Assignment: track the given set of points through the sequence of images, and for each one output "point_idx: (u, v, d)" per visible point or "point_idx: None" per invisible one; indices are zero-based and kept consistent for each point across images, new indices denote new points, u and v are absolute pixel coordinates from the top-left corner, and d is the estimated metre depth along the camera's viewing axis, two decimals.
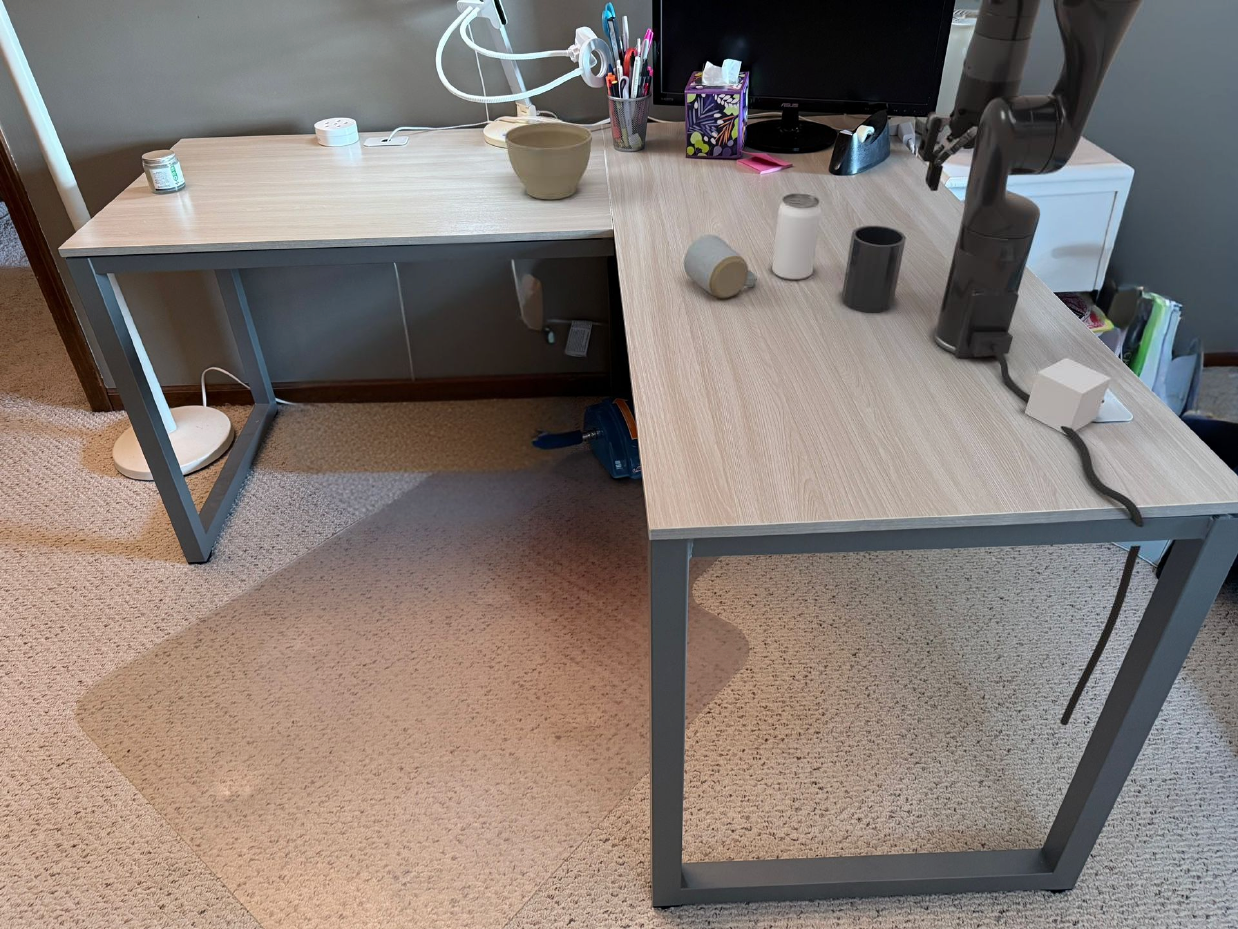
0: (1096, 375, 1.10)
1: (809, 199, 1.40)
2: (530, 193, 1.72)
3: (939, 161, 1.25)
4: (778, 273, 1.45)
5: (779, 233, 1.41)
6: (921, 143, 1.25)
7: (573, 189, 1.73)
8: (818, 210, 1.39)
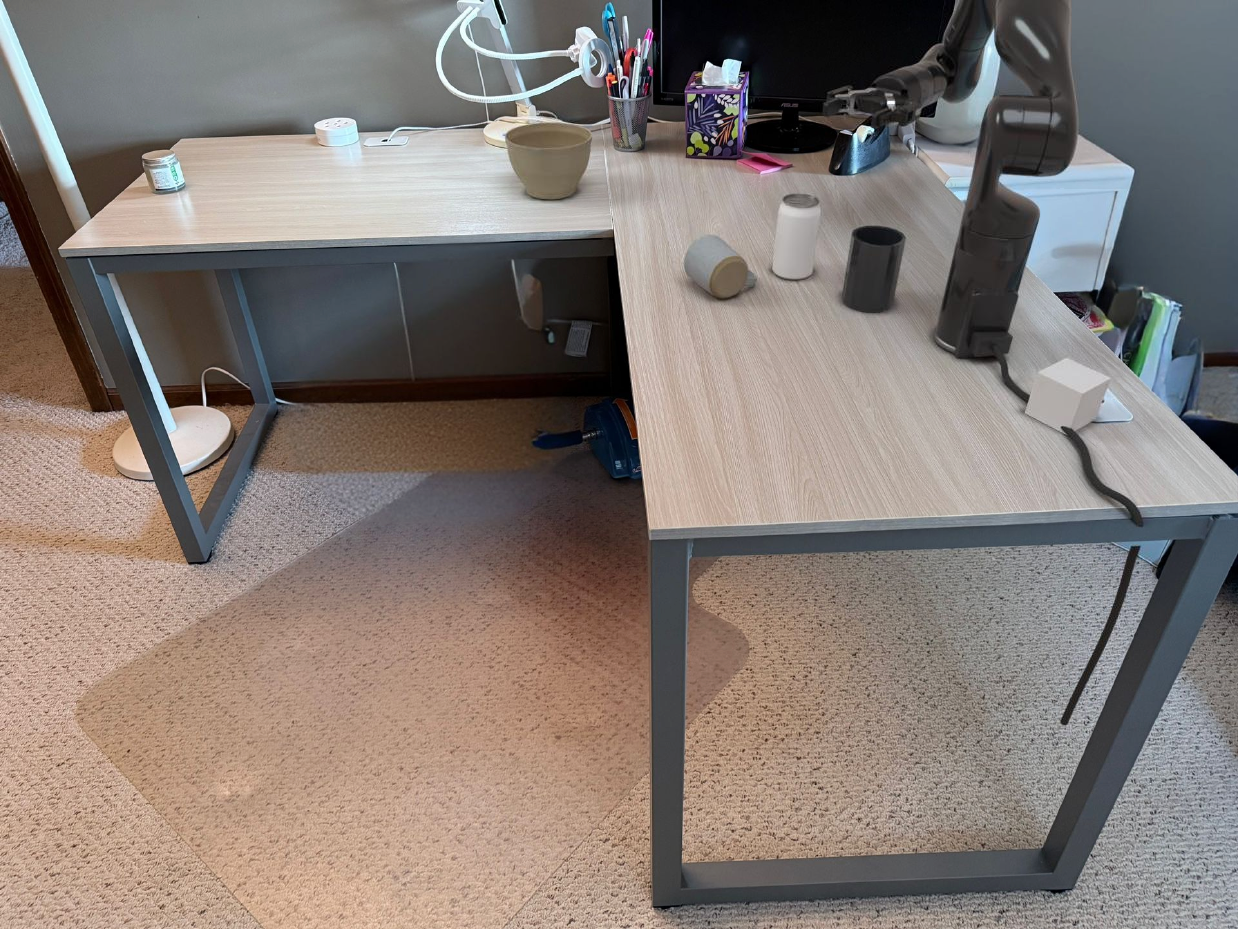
0: (1096, 375, 1.10)
1: (809, 199, 1.40)
2: (530, 193, 1.72)
3: (839, 95, 1.44)
4: (778, 273, 1.45)
5: (779, 233, 1.41)
6: None
7: (573, 189, 1.73)
8: (818, 210, 1.39)
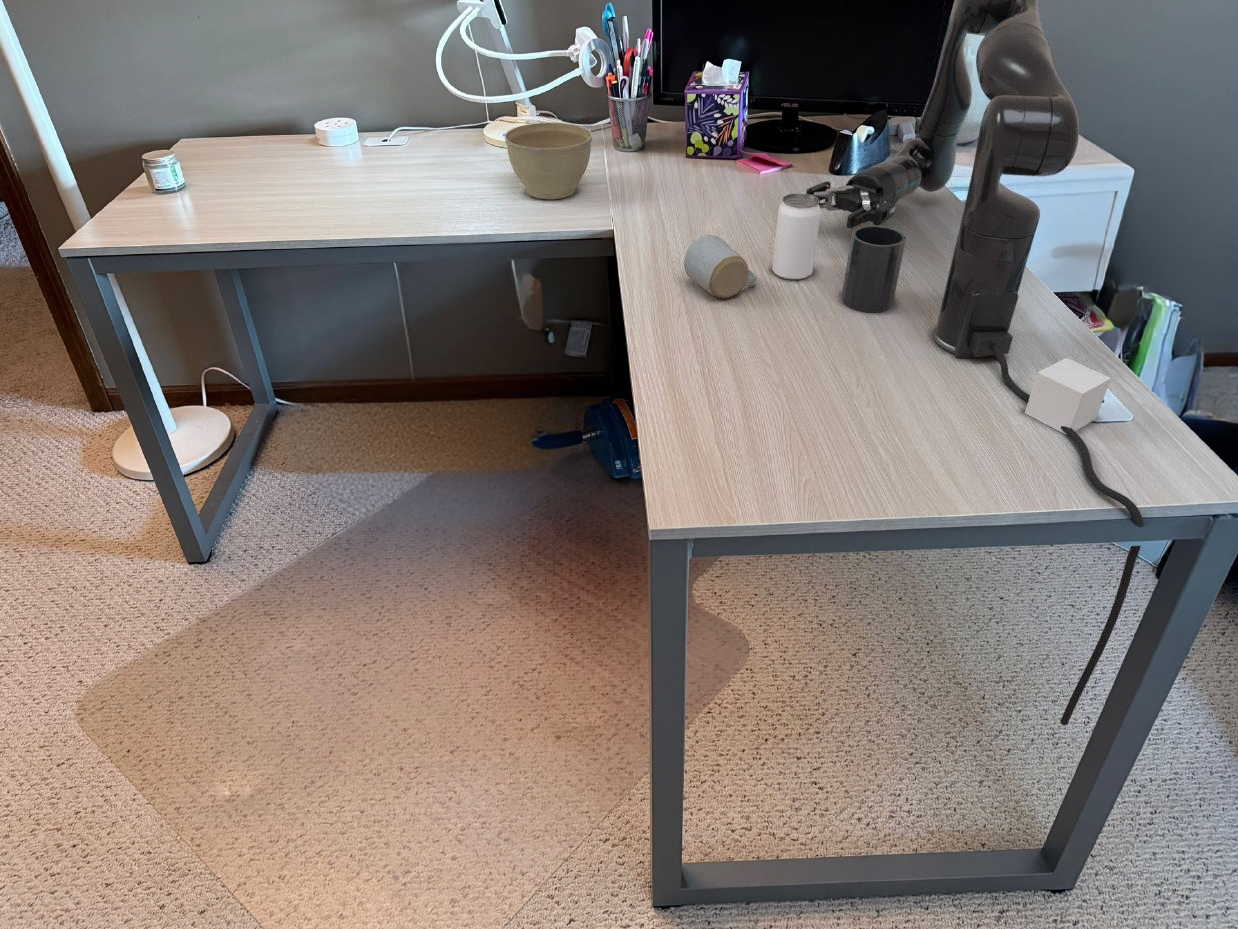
0: (1096, 375, 1.10)
1: (809, 199, 1.40)
2: (530, 193, 1.72)
3: (817, 192, 1.52)
4: (778, 273, 1.45)
5: (779, 233, 1.41)
6: None
7: (573, 189, 1.73)
8: (818, 210, 1.39)
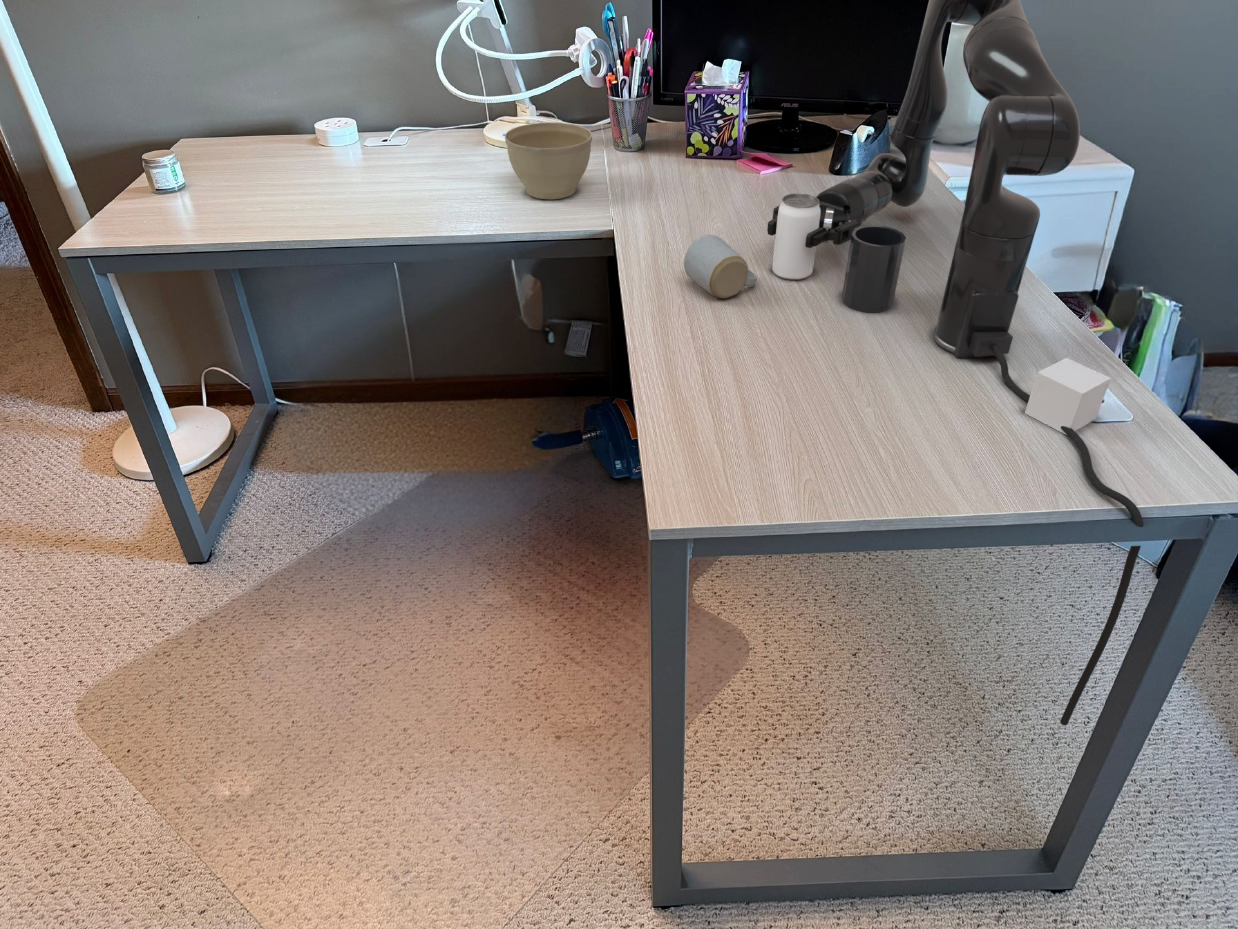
0: (1096, 375, 1.10)
1: (809, 199, 1.40)
2: (530, 193, 1.72)
3: None
4: (778, 273, 1.45)
5: (779, 233, 1.41)
6: None
7: (573, 189, 1.73)
8: (818, 210, 1.39)
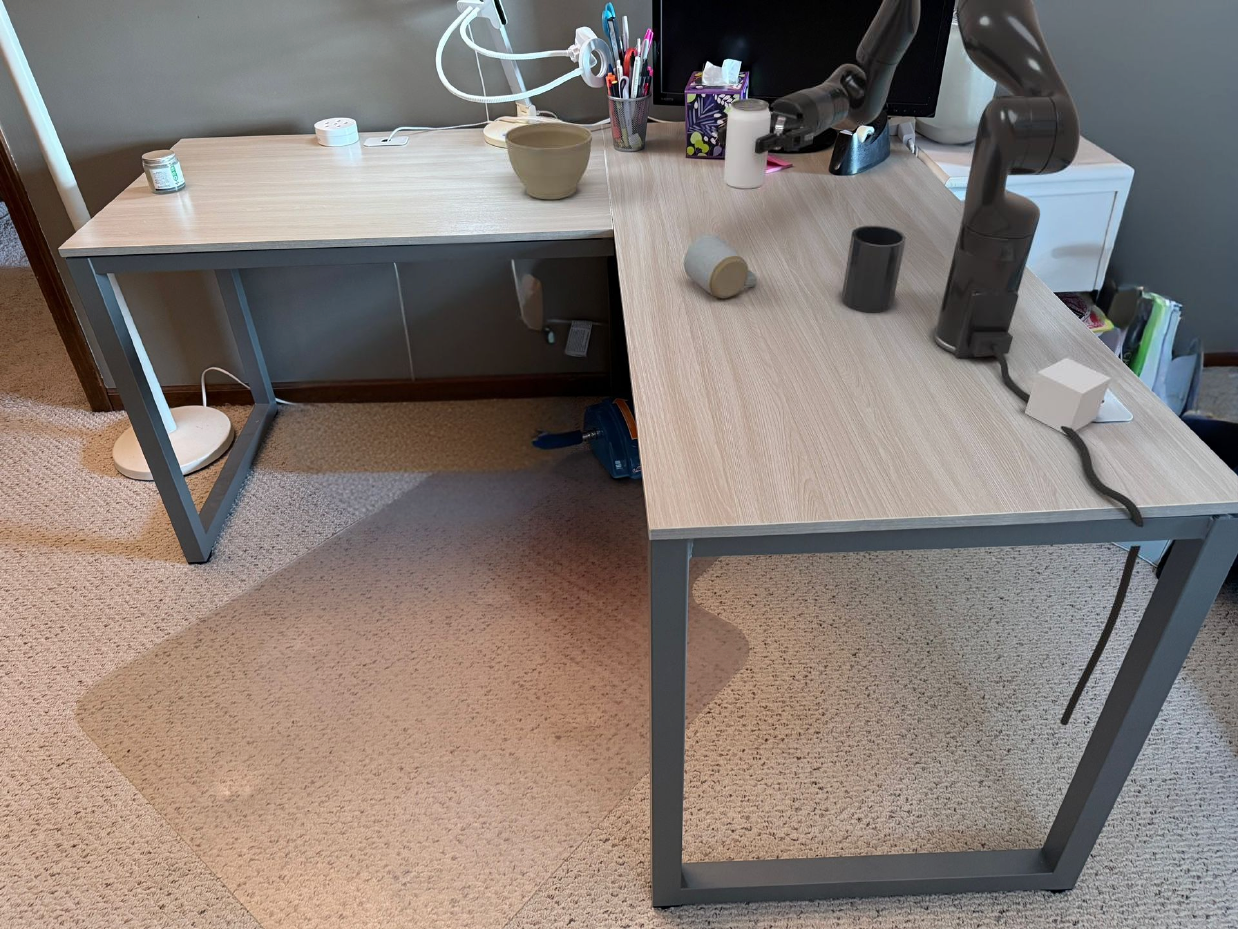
0: (1096, 375, 1.10)
1: (759, 104, 1.37)
2: (530, 193, 1.72)
3: None
4: (729, 183, 1.41)
5: (728, 140, 1.38)
6: None
7: (573, 189, 1.73)
8: (767, 114, 1.35)
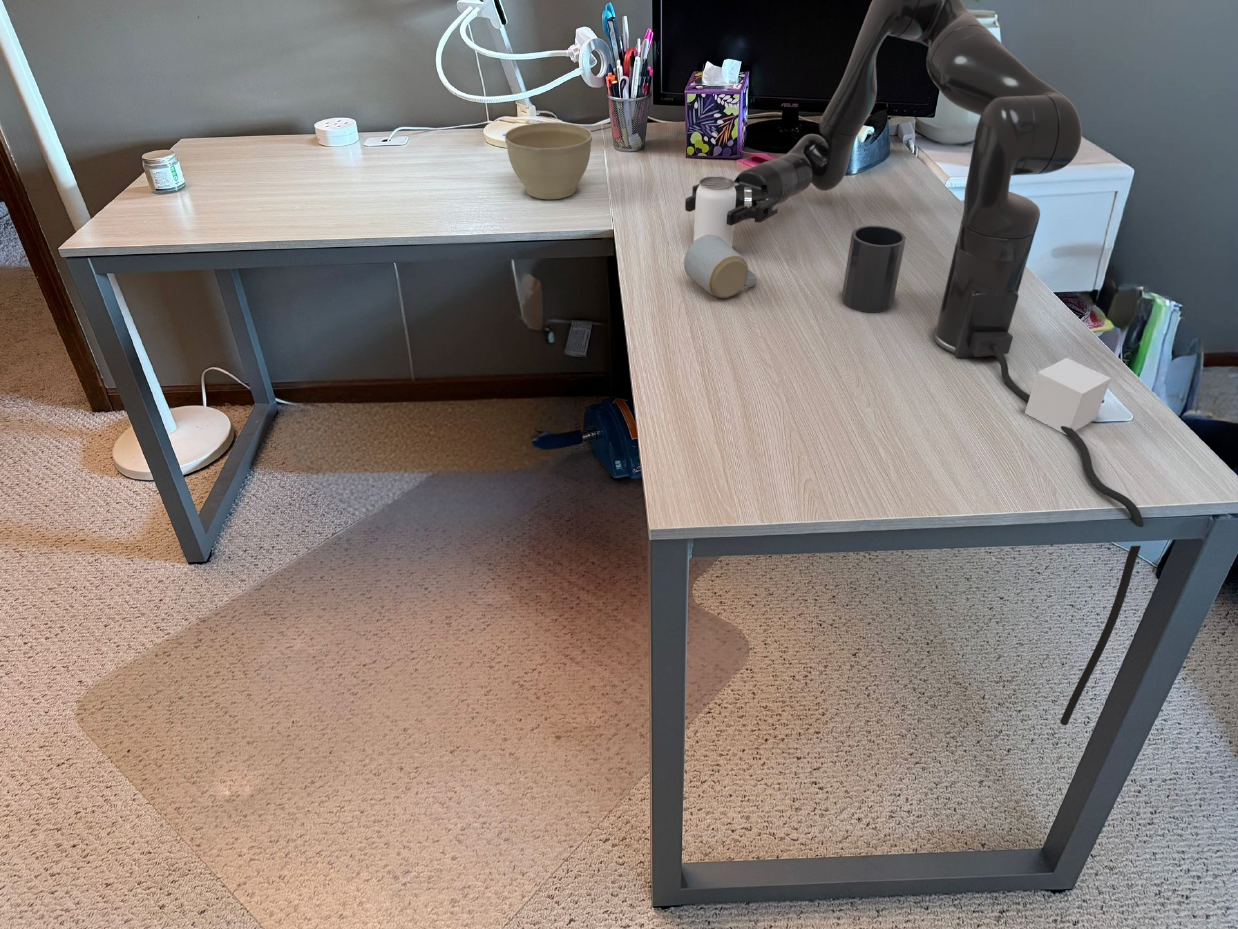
0: (1096, 375, 1.10)
1: (725, 181, 1.47)
2: (530, 193, 1.72)
3: None
4: None
5: (697, 215, 1.48)
6: None
7: (573, 189, 1.73)
8: (733, 192, 1.45)
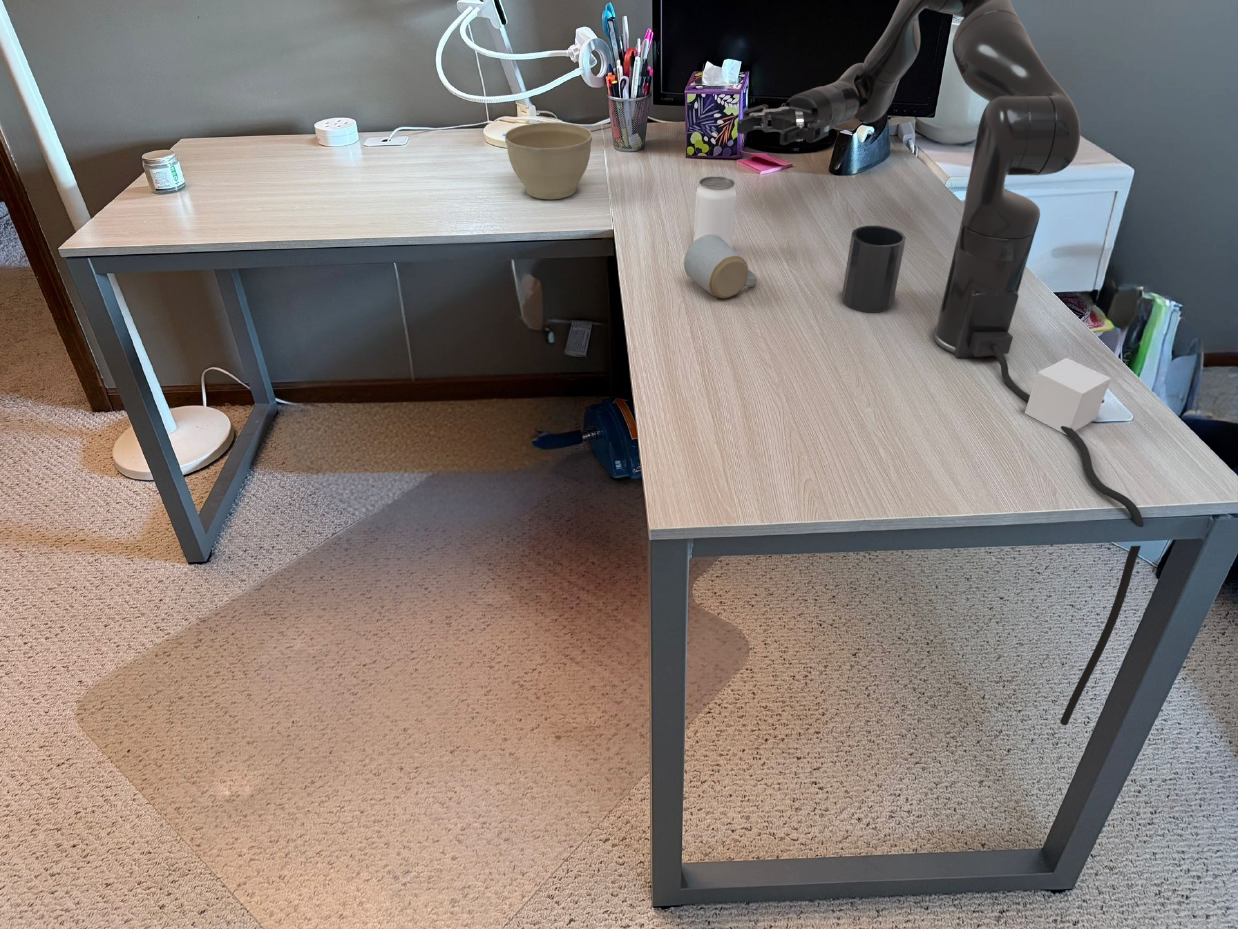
0: (1096, 375, 1.10)
1: (725, 181, 1.47)
2: (530, 193, 1.72)
3: (753, 113, 1.53)
4: None
5: (697, 215, 1.48)
6: None
7: (573, 189, 1.73)
8: (733, 192, 1.45)
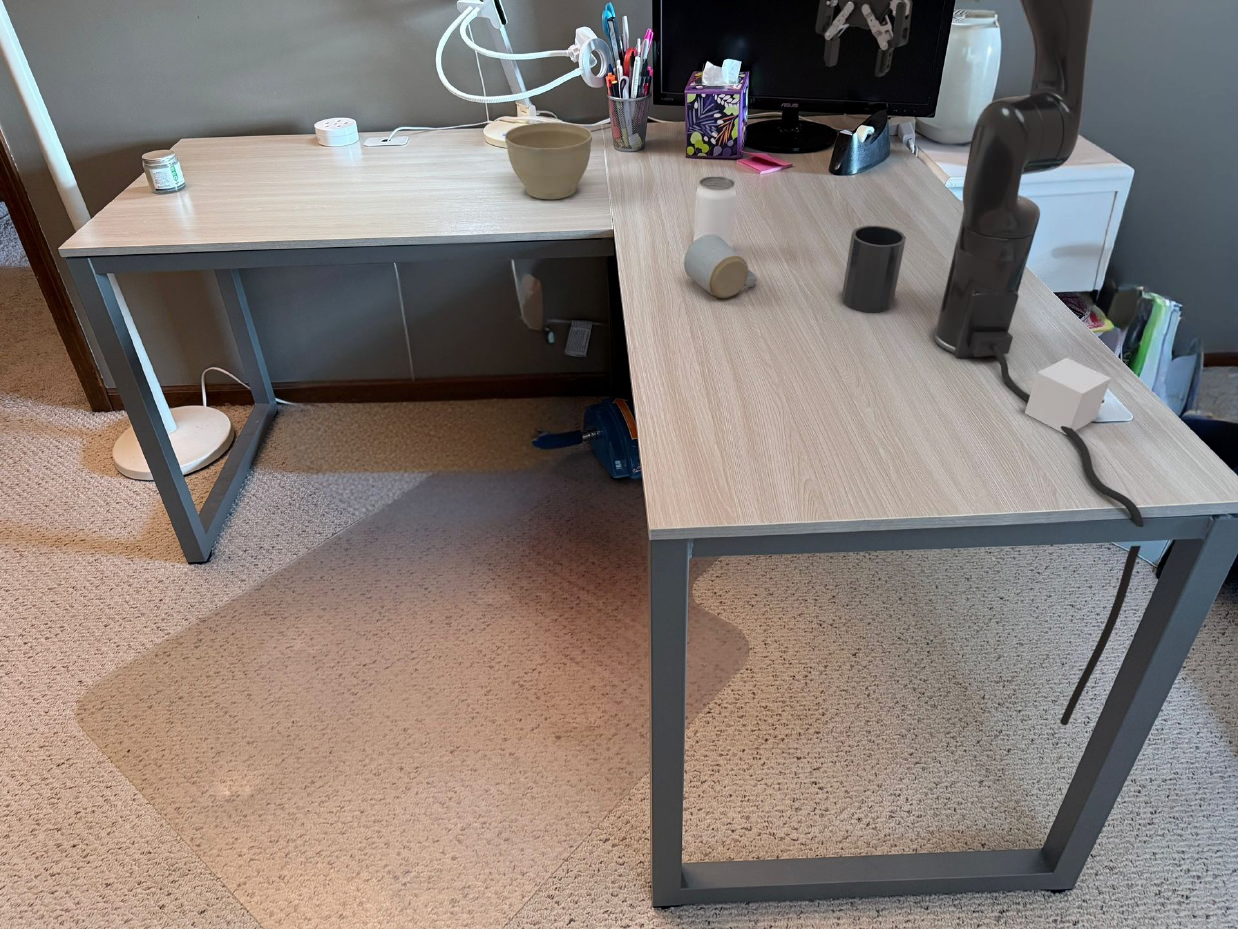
0: (1096, 375, 1.10)
1: (725, 181, 1.47)
2: (530, 193, 1.72)
3: (828, 34, 1.37)
4: None
5: (697, 215, 1.48)
6: None
7: (573, 189, 1.73)
8: (733, 192, 1.45)
